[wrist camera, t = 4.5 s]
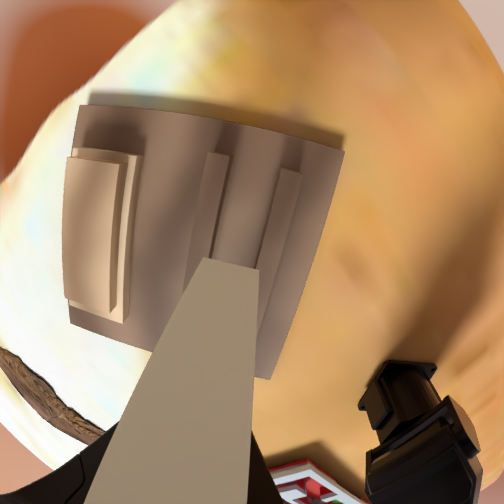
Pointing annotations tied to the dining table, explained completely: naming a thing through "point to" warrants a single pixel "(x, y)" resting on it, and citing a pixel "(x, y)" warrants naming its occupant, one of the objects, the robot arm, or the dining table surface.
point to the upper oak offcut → (92, 230)
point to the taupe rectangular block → (191, 401)
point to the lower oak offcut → (126, 228)
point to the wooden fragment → (46, 400)
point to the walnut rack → (213, 215)
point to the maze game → (310, 485)
